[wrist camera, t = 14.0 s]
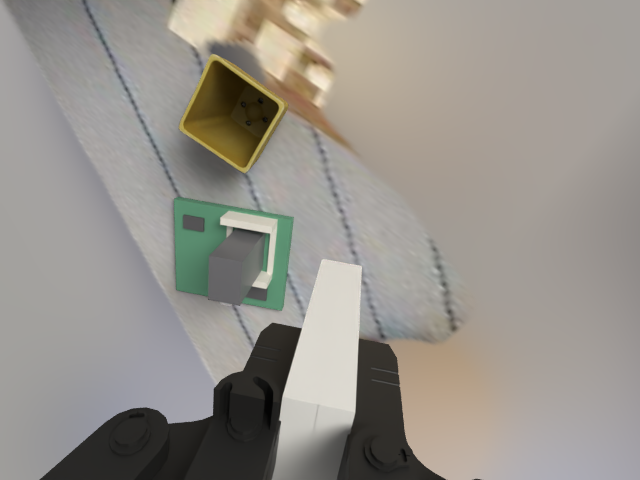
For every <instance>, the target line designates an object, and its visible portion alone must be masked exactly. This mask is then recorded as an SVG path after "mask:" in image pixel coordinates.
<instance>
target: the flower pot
mask: <svg viewBox="0 0 640 480" xmlns="http://www.w3.org/2000/svg"><path fill="white" fill-rule="evenodd" d="M260 98H261V99H263V102H262V103H259V99H260ZM243 102H245V103H246V106H245V107H243V106H242V103H243ZM287 109H288V103H287V102H286V101H284V100H283V99H282V98H280V97H279V96H277V95H276V94H274V93H273V92H271V91H270V90H269V89H267V88H266V87H264V86H263V85H262V84H260V83H259V82H258V81H256V80H255V79H253V78H252V77H251V76H249V75H248V74H247V73H245V72H244V71H243V70H241V69H240V68H239V67H237V66H236V65H234V64H233V63H231V62H229V61H227V60H225V59H223V58H221V57H219V56H217V55H214V54H212V55H211V56H210V57H209V59H208V62H207V64H206V66H205V69H204V71H203V73H202V76H201V78H200V80H199V83H198V85H197V87H196V90H195V92H194V94H193V96H192V98H191V100H190V102H189V104H188V106H187V109H186V111H185V113H184V115H183V117H182V119H181V121H180V124H179V130H180V131H181V132H183V133H184V134H186V135H187V136H189V137H190V138H192V139H193V140H195V141H196V142H198V143H199V144H201V145H202V146H204V147H205V148H207V149H208V150H210V151H211V152H213V153H214V154H216V155H217V156H218V157H220V158H221V159H223V160H224V161H226V162H227V163H229V164H230V165H232V166H233V167H235V168H236V169H237V170H239V171H241V172H243V173H246V172H248V170H249V169H250V168H251V167H252V166H253V165H254V163H255V162H256V161H257V160H258V158H259V157H260V155H261V153H262V152H263V150H264V148H265V146H266V144H267V143H268V141H269V139H270V137H271V136H272V134H273V132H274V131H275V129H276V127H277V126H278V124H279V122H280V121H281V119H282V117H283V116H284V114H285V112H286V111H287ZM264 117H266V118H267V122H264V121H263V118H264ZM247 121H250V122H251V124H250V125H247Z"/></svg>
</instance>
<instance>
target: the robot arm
mask: <svg viewBox="0 0 640 480" xmlns="http://www.w3.org/2000/svg"><path fill="white" fill-rule="evenodd" d="M361 273H362V266H359V265H353V264H348V263H342V262H337V261H331V260H326V259H322V261H321V265H320V268H319V272H318V275H317V279H316V282H315V286H314V289H313V292H312V296H311V299H310V303H309V306H308V310H307V313H306V317H305V320H304V324H303V327H302V328H297V327H292V326H287V325H282V324H277V323H271V324H270V325H269V326H268V327H266V328H265V329H264V330H263V331H262V332H261V333H260V335H259V337H258V340H257V342H256V344H255V347H254V348H253V350H252V353H251V355H250V357H249V359H248V361H247V364H246V366H245V368H244V370H243V371H241V372H237V373H233V374H230V375H229V376H227V377H225V378H224V379H222V380H221V381H220V382H219V383H218V385H217V386H216V387H215V388H214V402H213V403H214V404H213V416H211V417H208V418H206V419H203V420H199V421H194V422H184V423H172V424H168V423H167V419H166V417H164V415H162V414H161V413H160V412H159V411H157V410H153V409H150V408H134V409H130V410H127V411H124V412H122V413H119V414H117V415H116V416H114V417H113V418H111V419H110V420H108V421H107V422H105V423H104V424H103V425H102V426H101V427H99V428H98V429H97V430H96V431H95V432H94V433H93V434H91V435H90V436H89V437H88V438H87V439H86V440H85V441H83V442H82V443H81V444H80V445H79V446H78V447H77V448H75V449H74V450H73V451H72V452H71V453H70V454H69V455H67V456H66V457H65V458H64V459H63V460H62V461H61V462H60V463H58V464H57V465H56V466H55V467H54V468H53V469H51V470H50V471H49V472H48V473H47V474H46V475H45V476H43V477H42V478H41V479H40V480H446V479H444V478H442V477H441V476H439V475H437V474H435V473H434V472H432V471H431V470H429V469H428V468H426V467H425V466H424V465H423V464H422V463H421V462H420V461H419V460H418V459H417V458H416V457H415V455H414V454H413V451H412V449H411V448H410V447H409V445H408V443H407V441H406V437H405V432H404V422H403V412H402V402H401V392H400V387H399V384H400V383H399V375H398V364H397V357H396V356H395V354H394V352H393V351H392V349H391V348H390V346H389V344H384V343H379V342H374V341H368V340H363V339H359V319H360V296H361ZM474 480H480V479H474Z"/></svg>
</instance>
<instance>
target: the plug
mask: <svg viewBox="0 0 640 480" xmlns="http://www.w3.org/2000/svg"><path fill="white" fill-rule="evenodd" d="M265 237H266V233H264V232H259V231H253V230H248V229H242V228H236V229H235V230H234V231H233V232H232V233H231V234H230V235H229V236H228V237H227V238H226V239H225V240H224V241H223V242H222V243H221V244H220V245H219V246H218V247H217V248H216V249H215V250H214V251H213V252H212V253H211V254H210V255H209V280H208V300H214V301H219V304H222V305H227V306H232V305H233V304H234V305H239V306H240V305H241V303H242V301H243V300H244V298H245V296H246V295H247V293H248V292H249V290H250V288H251V287H252V285H253V283H254V282H255V280H256V279H257V277H258V275H259V274H260V272H261V270H262V269H263V260H264V248H265Z"/></svg>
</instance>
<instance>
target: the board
mask: <svg viewBox="0 0 640 480" xmlns="http://www.w3.org/2000/svg"><path fill="white" fill-rule="evenodd" d="M174 219H175V257H176V290H178V291H183V292H189V293H194V294H199V295H204V296H208V280H209V255H210V254H211V253H212V252H213V251H214V250H215V249H216V248H217V247H218V246H219V245H220V244H221V243H222V242H223V241H224V240H225V239H226V238H227V237H228V236H229V235H230V234H231V233H232V232H233V231H234V230H235V229H236V228H242V229H248V230H253V231H259V232H264V233H266V237H265V248H264V260H263V269H262V270H261V272H260V274H259V275H258V277H257V279H256V280H255V282H254V283H253V285H252V287H251V288H250V290H249V292H248V293H247V295H246V296H245V298H244V300H243V301H242V303H245V304H250V305H255V306H260V307H265V308H270V309H276V310H281V311H282V309H283V305H284V297H285V288H286V280H287V271H288V262H289V254H290V245H291V237H292V228H293V219H294V217H289V216H283V215H277V214H272V213H266V212H260V211H255V210H249V209H243V208H238V207H232V206H227V205H221V204H215V203H210V202H204V201H198V200H193V199H187V198H181V197H177V198H175V199H174Z"/></svg>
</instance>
